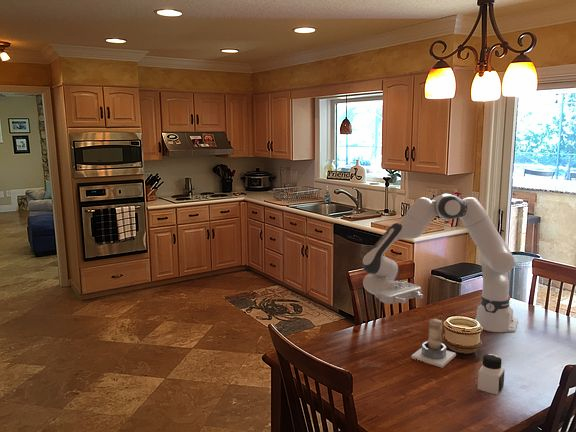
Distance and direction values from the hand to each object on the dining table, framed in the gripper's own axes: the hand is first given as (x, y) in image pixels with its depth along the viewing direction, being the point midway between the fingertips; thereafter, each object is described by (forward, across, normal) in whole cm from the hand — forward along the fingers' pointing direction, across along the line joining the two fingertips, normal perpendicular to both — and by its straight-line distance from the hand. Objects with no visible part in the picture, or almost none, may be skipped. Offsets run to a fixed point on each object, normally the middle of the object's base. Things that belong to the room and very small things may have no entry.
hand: (413, 299), depth 201 cm
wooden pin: (+12, 0, +20) cm, 23 cm away
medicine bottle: (+40, -2, +22) cm, 45 cm away
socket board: (+12, 0, +21) cm, 24 cm away
